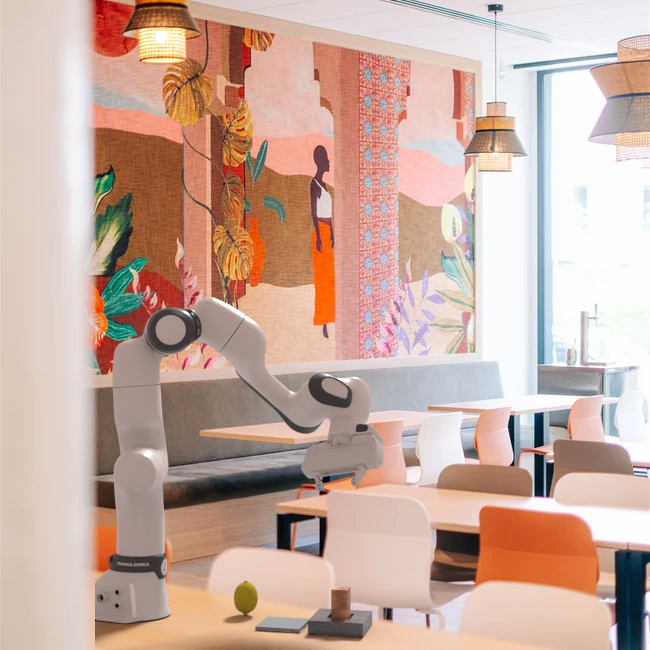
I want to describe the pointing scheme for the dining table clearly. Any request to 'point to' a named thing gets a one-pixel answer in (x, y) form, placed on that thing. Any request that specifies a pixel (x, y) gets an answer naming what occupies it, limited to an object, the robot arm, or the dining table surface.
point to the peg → (340, 602)
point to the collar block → (340, 624)
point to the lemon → (245, 597)
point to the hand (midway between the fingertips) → (337, 487)
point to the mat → (282, 624)
